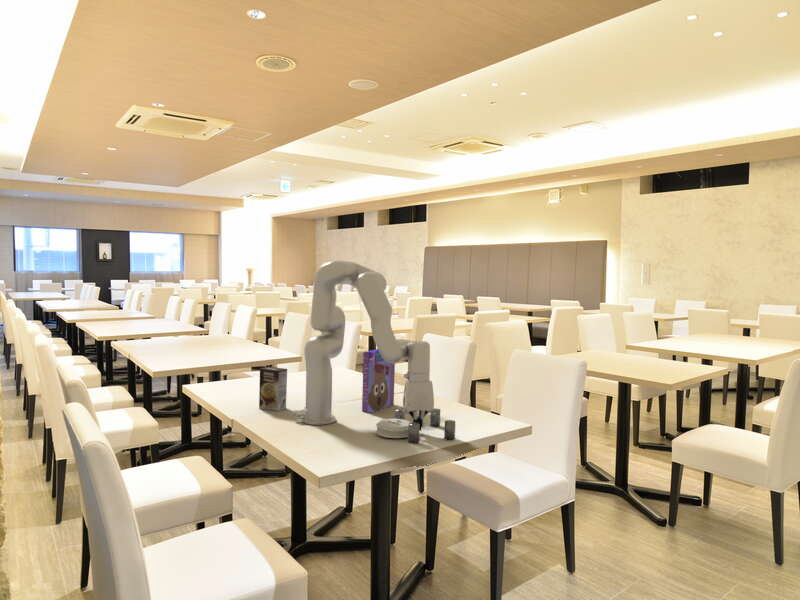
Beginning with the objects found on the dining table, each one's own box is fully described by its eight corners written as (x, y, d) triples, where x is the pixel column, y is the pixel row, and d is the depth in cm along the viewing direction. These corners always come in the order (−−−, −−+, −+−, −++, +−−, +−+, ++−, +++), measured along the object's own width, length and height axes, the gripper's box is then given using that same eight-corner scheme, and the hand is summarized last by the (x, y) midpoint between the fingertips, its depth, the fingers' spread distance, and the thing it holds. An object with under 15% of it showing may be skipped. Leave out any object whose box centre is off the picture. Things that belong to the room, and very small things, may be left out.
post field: (409, 444, 179) (410, 425, 179) (393, 425, 201) (393, 408, 201) (457, 441, 183) (458, 423, 183) (436, 423, 205) (437, 407, 205)
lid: (415, 431, 194) (415, 417, 194) (410, 442, 182) (410, 427, 182) (380, 428, 196) (380, 415, 196) (372, 439, 184) (372, 424, 184)
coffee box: (258, 408, 219) (258, 368, 218) (268, 405, 225) (268, 366, 224) (277, 411, 216) (278, 370, 215) (287, 408, 222) (287, 368, 221)
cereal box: (372, 413, 217) (373, 352, 216) (362, 411, 219) (363, 351, 218) (393, 404, 233) (395, 347, 231) (383, 403, 235) (385, 346, 234)
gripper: (400, 379, 185) (399, 434, 186) (442, 378, 189) (441, 431, 190) (394, 375, 192) (394, 427, 193) (435, 374, 196) (434, 425, 197)
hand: (417, 429), depth 191 cm, fingers closed
